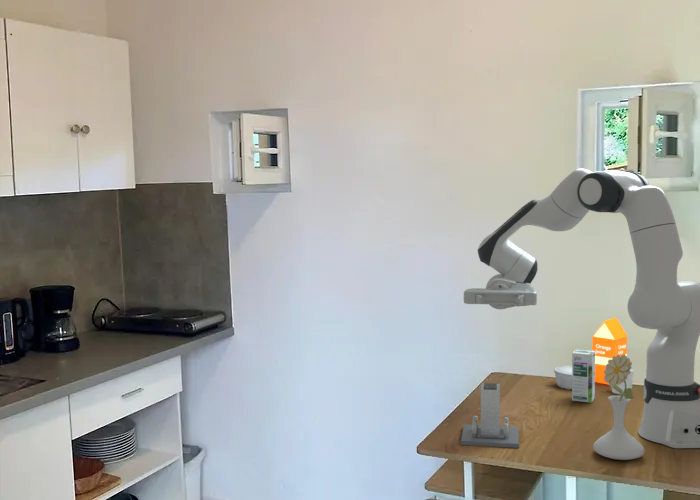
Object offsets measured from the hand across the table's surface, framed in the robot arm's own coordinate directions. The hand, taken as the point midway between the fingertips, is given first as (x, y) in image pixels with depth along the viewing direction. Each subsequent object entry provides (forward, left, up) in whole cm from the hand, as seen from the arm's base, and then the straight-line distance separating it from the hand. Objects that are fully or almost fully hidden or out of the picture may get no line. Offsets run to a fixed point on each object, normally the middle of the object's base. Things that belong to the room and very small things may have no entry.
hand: (499, 301), depth 211 cm
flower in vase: (-28, +28, -32) cm, 51 cm away
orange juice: (-34, -42, -32) cm, 63 cm away
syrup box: (-24, -19, -32) cm, 44 cm away
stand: (+2, +19, -32) cm, 37 cm away
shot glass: (-36, -29, -32) cm, 56 cm away
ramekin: (-22, -34, -32) cm, 52 cm away
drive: (+2, +19, -31) cm, 36 cm away
